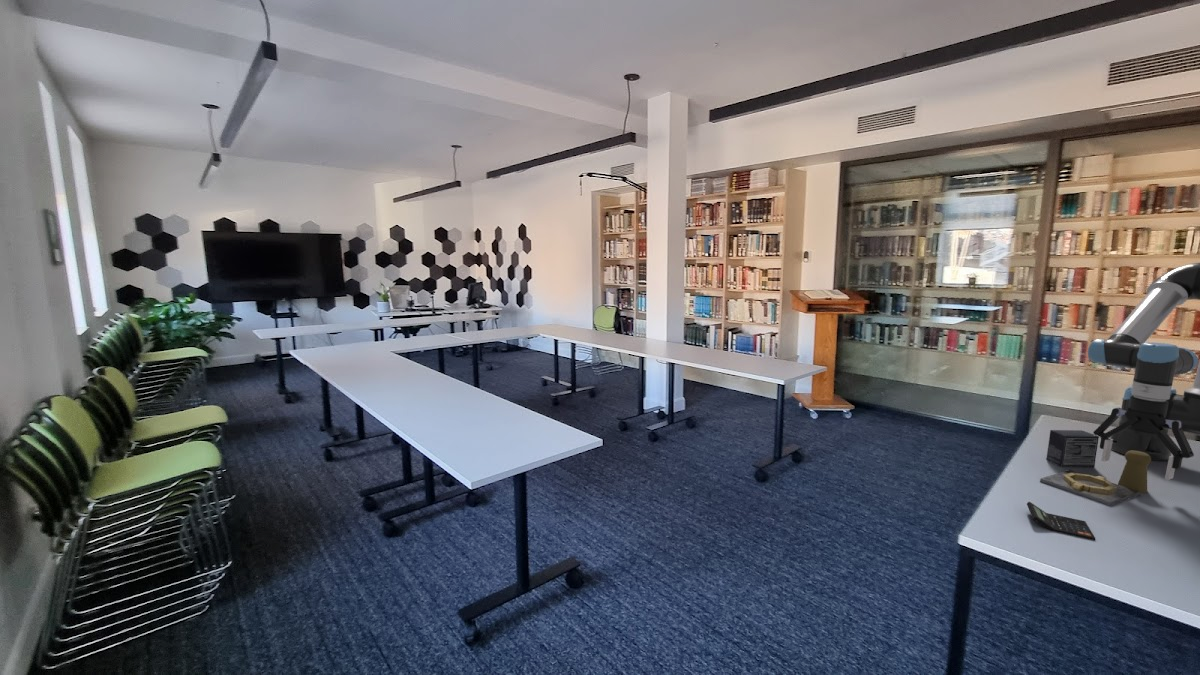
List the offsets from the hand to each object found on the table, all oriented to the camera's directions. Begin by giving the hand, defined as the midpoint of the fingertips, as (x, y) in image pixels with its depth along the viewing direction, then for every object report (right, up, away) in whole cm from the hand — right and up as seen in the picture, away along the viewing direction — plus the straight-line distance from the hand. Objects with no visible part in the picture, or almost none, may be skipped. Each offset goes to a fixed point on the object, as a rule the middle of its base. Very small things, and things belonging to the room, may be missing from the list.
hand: (1135, 469), depth 148 cm
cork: (0, -6, +1) cm, 6 cm away
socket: (-13, -6, +1) cm, 14 cm away
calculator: (-40, -9, -20) cm, 46 cm away
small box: (-2, -3, +18) cm, 19 cm away
